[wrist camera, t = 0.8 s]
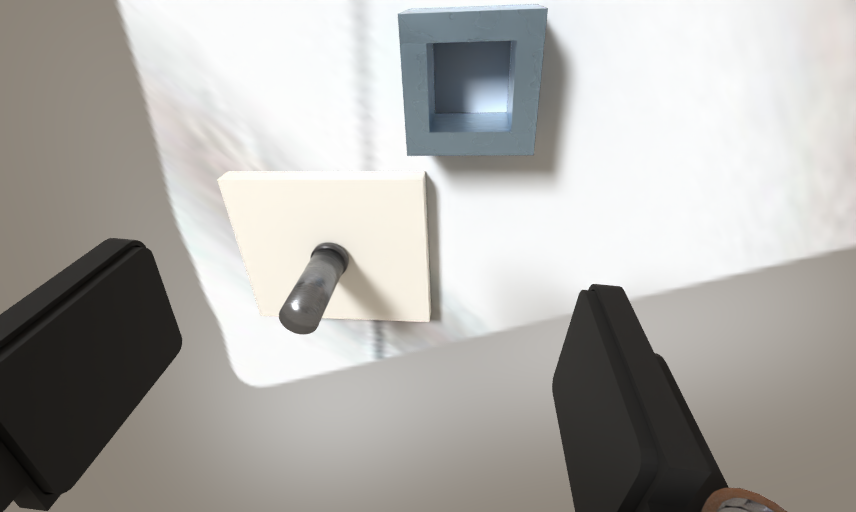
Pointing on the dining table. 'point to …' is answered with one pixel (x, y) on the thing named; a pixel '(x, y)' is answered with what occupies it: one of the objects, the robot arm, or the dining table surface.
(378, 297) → the base plate
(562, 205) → the dining table surface
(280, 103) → the dining table surface
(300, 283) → the steel post
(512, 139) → the collar
